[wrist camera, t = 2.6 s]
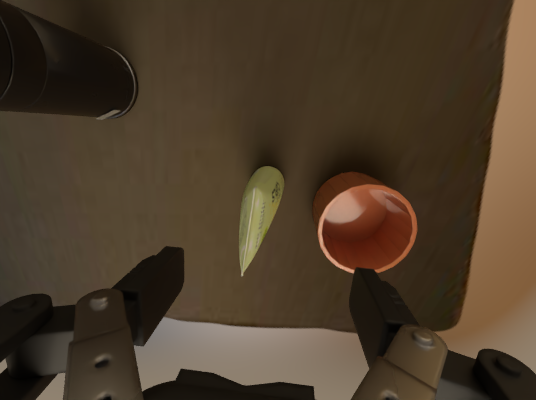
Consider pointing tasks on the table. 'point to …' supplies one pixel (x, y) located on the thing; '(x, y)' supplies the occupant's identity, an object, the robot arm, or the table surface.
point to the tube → (258, 211)
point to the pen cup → (363, 222)
